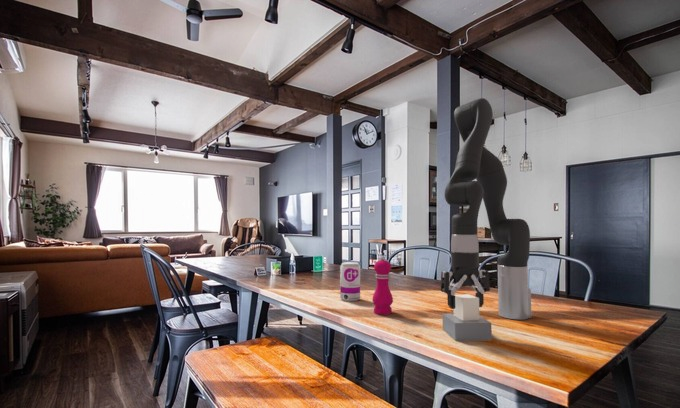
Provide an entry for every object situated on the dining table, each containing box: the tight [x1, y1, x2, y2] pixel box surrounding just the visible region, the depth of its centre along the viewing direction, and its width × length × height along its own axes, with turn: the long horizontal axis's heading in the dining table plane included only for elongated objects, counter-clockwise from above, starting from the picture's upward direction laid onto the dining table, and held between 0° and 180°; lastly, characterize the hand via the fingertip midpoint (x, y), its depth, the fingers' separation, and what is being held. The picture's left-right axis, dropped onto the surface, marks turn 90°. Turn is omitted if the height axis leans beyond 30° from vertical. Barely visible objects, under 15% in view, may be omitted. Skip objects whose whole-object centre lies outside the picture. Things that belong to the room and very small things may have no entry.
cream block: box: [453, 293, 480, 321], centre depth 99 cm, size 5×5×6 cm
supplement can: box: [339, 261, 361, 302], centre depth 144 cm, size 8×8×15 cm
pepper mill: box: [372, 255, 394, 316], centre depth 123 cm, size 7×7×20 cm
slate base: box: [442, 312, 493, 342], centre depth 98 cm, size 10×10×5 cm
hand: (465, 307), depth 99 cm, fingers open, 8 cm apart
